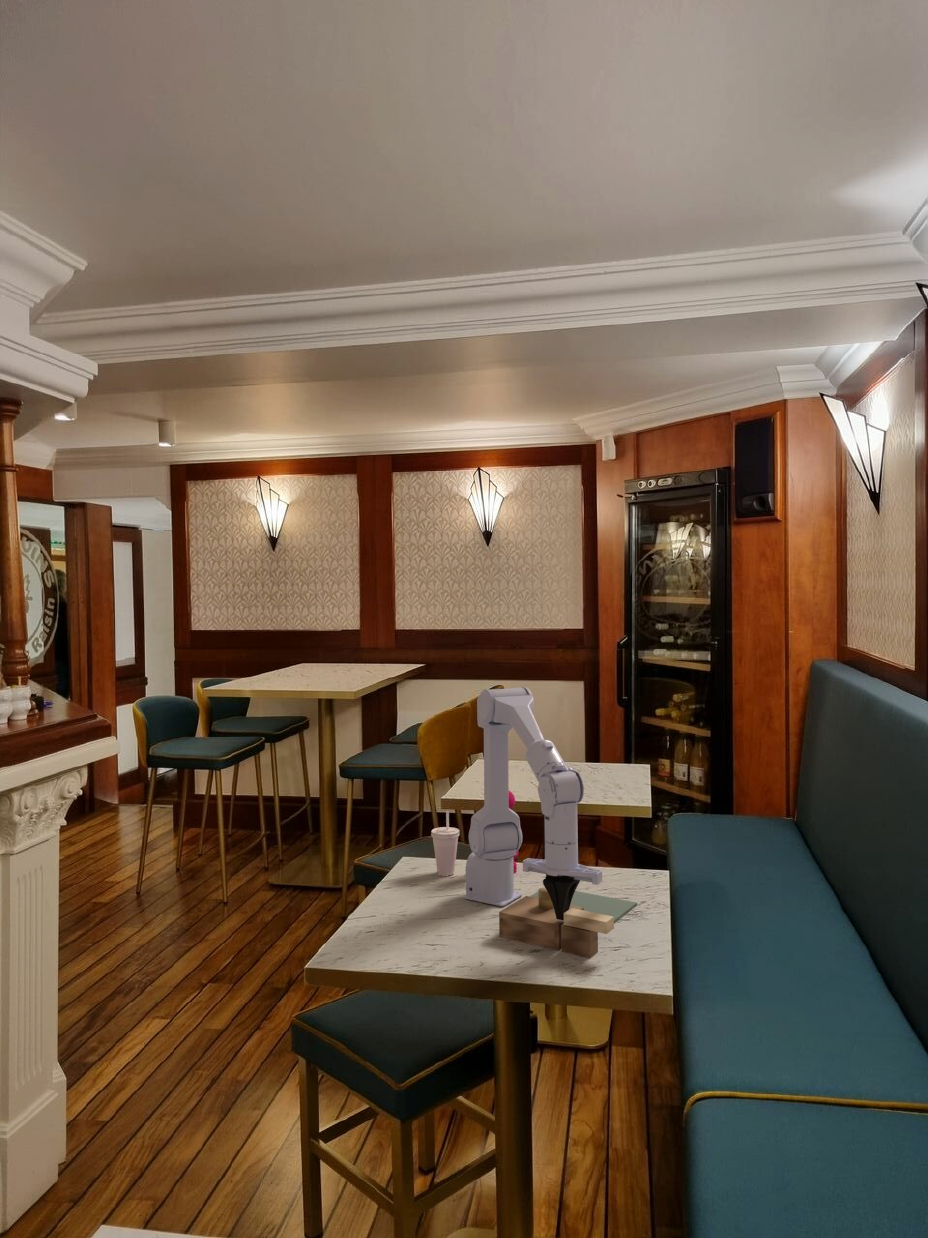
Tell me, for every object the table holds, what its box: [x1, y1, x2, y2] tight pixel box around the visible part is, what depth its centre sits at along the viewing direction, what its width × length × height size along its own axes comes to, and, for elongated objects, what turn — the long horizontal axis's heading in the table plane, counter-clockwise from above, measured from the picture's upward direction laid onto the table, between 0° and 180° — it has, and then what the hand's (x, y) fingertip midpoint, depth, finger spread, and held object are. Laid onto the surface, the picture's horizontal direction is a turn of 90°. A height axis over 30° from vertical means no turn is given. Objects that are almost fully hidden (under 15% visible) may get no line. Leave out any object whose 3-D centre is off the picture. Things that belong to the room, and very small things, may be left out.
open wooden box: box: [498, 917, 599, 959], centre depth 156 cm, size 18×10×4 cm, turn 57°
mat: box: [529, 890, 638, 924], centre depth 172 cm, size 20×14×1 cm
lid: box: [498, 886, 584, 931], centre depth 158 cm, size 12×10×4 cm
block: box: [564, 908, 615, 935], centre depth 149 cm, size 8×3×2 cm, turn 57°
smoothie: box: [430, 810, 460, 877], centre depth 194 cm, size 6×6×14 cm
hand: (562, 918), depth 151 cm, fingers closed
